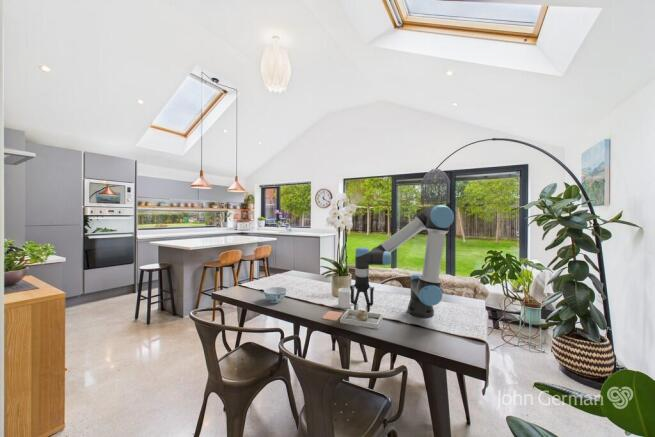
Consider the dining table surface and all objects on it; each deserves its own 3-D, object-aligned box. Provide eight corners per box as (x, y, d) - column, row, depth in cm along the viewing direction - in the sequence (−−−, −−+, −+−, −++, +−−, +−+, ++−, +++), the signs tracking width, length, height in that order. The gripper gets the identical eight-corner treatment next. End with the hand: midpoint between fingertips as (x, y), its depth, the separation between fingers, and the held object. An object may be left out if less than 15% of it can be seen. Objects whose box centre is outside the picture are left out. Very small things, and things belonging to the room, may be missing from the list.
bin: (382, 318, 156) (382, 313, 156) (377, 328, 142) (377, 324, 142) (348, 313, 163) (348, 309, 163) (340, 322, 149) (340, 318, 149)
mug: (350, 311, 166) (350, 293, 166) (335, 306, 174) (335, 290, 174) (358, 307, 173) (358, 290, 172) (343, 303, 181) (343, 287, 180)
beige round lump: (367, 319, 154) (367, 310, 154) (365, 323, 149) (365, 314, 149) (358, 318, 156) (358, 309, 156) (356, 321, 151) (356, 312, 151)
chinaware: (276, 307, 173) (276, 295, 173) (259, 302, 181) (259, 291, 181) (291, 300, 186) (291, 289, 186) (274, 296, 194) (274, 285, 194)
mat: (343, 313, 163) (343, 312, 163) (336, 321, 152) (336, 320, 152) (329, 311, 166) (329, 310, 166) (321, 318, 155) (321, 318, 155)
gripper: (379, 275, 152) (379, 316, 153) (348, 272, 158) (348, 311, 159) (376, 278, 145) (376, 321, 146) (344, 275, 151) (344, 316, 152)
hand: (361, 316), depth 152 cm, fingers closed on beige round lump, 5 cm apart
